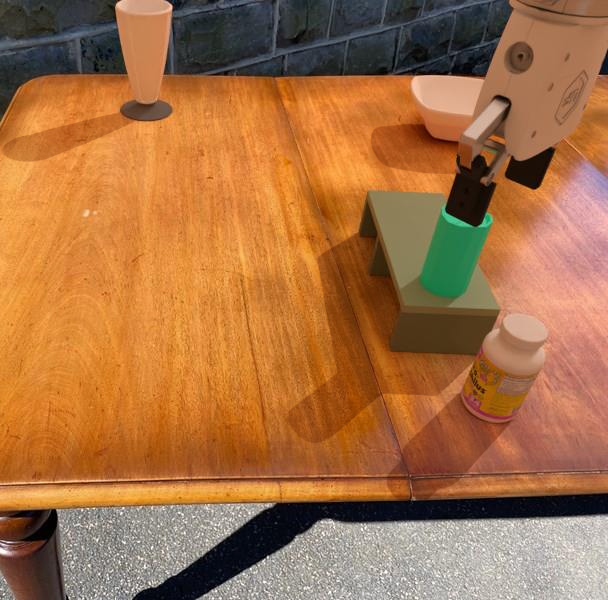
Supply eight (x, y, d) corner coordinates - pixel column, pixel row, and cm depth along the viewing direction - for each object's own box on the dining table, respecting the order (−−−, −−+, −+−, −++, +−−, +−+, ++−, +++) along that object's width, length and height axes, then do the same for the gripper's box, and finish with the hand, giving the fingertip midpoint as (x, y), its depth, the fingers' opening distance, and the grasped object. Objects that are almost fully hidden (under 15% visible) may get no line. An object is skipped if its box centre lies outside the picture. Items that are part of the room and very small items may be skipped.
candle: (472, 298, 80) (505, 218, 72) (425, 296, 80) (452, 216, 72) (459, 269, 85) (488, 191, 77) (414, 268, 85) (438, 189, 77)
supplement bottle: (455, 380, 80) (488, 303, 72) (509, 387, 80) (548, 310, 71) (464, 421, 75) (500, 343, 67) (522, 429, 74) (565, 351, 66)
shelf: (481, 355, 84) (501, 309, 79) (390, 351, 84) (404, 305, 79) (430, 235, 105) (443, 193, 100) (358, 232, 105) (367, 189, 100)
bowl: (488, 116, 143) (501, 79, 137) (513, 159, 127) (528, 119, 122) (396, 109, 144) (404, 72, 138) (409, 151, 128) (419, 111, 123)
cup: (177, 119, 136) (178, 13, 122) (124, 122, 134) (118, 14, 120) (167, 97, 145) (167, -4, 131) (117, 100, 142) (111, -3, 128)
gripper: (567, 23, 38) (478, 256, 49) (676, -18, 47) (580, 187, 58) (456, -6, 42) (397, 215, 53) (576, -39, 51) (504, 156, 62)
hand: (492, 200), depth 55 cm, fingers open, 9 cm apart
